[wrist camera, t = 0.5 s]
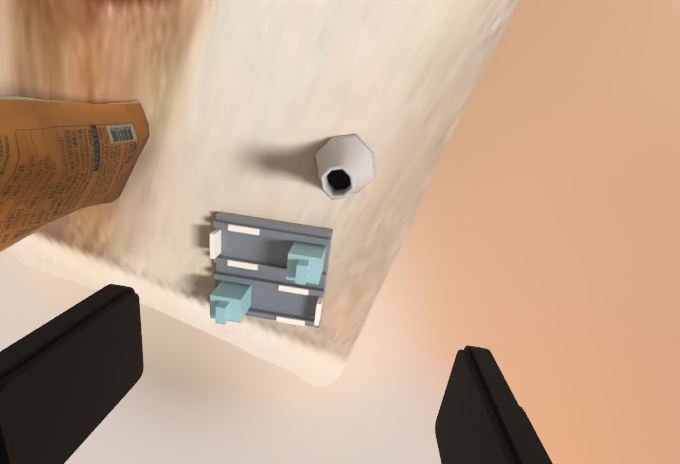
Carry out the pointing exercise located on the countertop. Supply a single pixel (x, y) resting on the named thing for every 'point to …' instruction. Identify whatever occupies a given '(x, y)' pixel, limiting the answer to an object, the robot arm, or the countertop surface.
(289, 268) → the tab
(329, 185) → the flask
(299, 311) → the switch bank
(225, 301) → the tab
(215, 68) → the countertop surface
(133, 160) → the pancake mix bag
